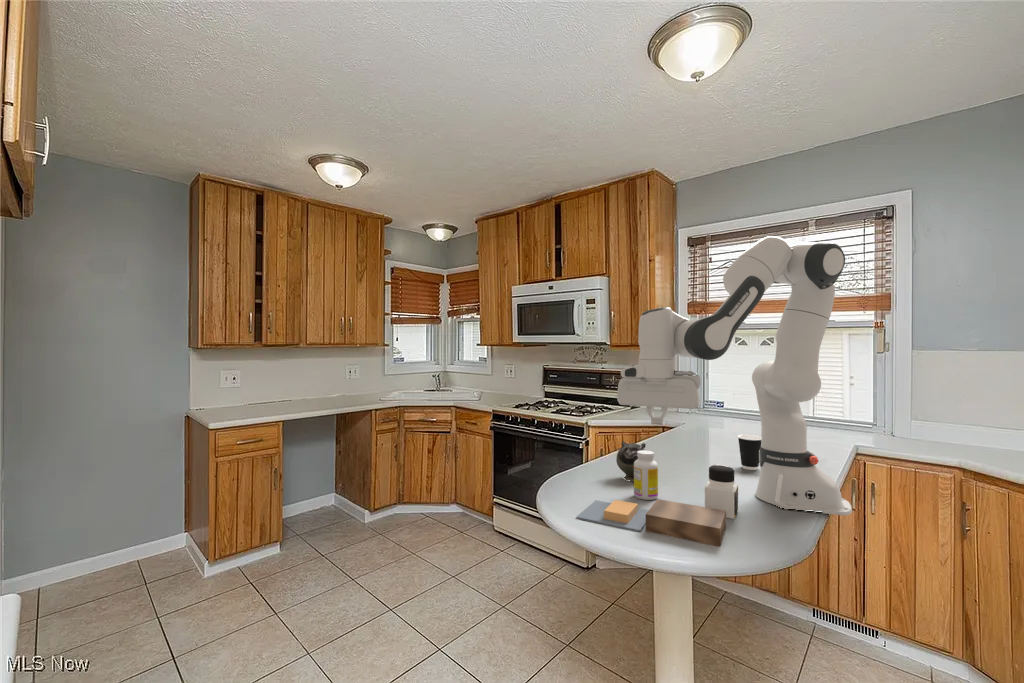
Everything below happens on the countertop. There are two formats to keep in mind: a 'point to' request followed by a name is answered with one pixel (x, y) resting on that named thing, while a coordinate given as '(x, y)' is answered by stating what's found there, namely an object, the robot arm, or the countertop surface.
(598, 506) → the mat
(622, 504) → the tile
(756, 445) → the dixie cup
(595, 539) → the countertop surface
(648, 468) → the supplement bottle
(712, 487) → the medicine bottle
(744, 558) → the countertop surface
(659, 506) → the wooden block
